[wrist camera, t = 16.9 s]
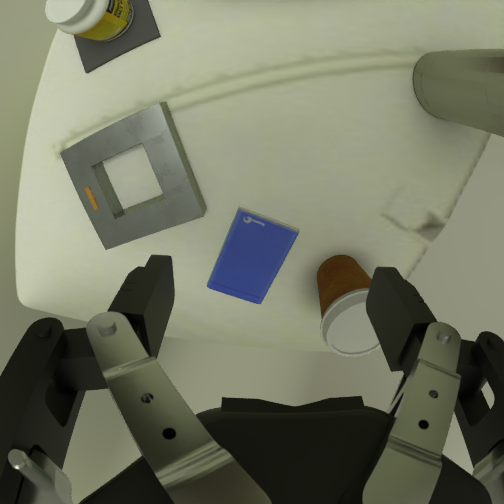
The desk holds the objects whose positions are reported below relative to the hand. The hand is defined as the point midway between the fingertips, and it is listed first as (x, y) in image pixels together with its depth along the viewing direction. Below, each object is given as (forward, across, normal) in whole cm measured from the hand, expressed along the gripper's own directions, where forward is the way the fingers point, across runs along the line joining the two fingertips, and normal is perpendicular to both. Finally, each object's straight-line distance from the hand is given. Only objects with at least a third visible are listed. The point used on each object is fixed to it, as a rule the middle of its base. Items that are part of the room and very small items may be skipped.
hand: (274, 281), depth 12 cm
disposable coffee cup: (+27, -12, +16) cm, 34 cm away
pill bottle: (+26, +18, -17) cm, 36 cm away
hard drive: (+28, 0, +14) cm, 31 cm away
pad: (+26, +18, -17) cm, 36 cm away
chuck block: (+26, +15, +3) cm, 31 cm away
